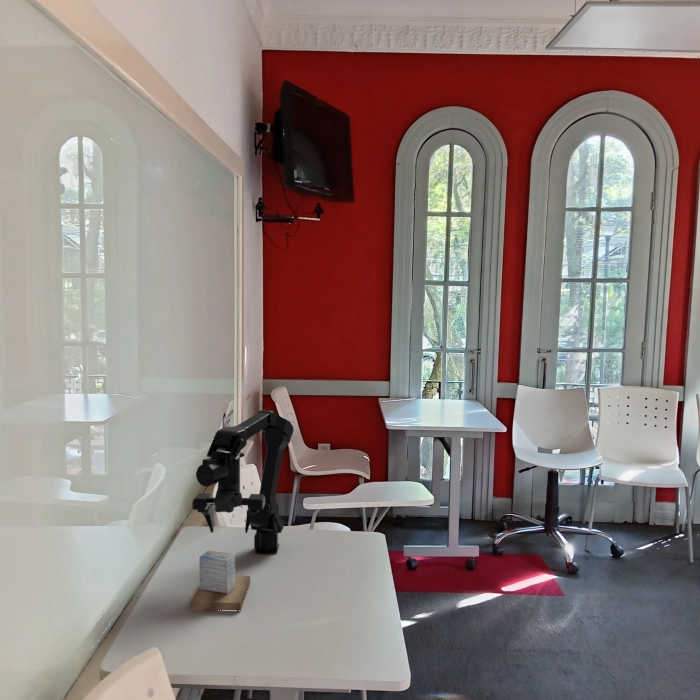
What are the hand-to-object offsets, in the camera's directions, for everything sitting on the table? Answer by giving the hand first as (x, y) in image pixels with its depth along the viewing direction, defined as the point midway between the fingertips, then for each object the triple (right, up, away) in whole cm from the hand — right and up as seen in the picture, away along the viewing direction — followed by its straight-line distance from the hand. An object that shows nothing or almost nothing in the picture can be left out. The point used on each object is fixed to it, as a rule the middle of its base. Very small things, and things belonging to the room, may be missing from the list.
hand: (229, 532), depth 163 cm
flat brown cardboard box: (0, -14, -11) cm, 18 cm away
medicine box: (-1, -11, -11) cm, 16 cm away
